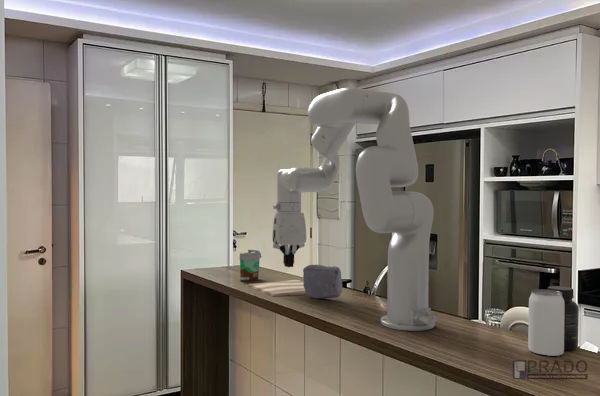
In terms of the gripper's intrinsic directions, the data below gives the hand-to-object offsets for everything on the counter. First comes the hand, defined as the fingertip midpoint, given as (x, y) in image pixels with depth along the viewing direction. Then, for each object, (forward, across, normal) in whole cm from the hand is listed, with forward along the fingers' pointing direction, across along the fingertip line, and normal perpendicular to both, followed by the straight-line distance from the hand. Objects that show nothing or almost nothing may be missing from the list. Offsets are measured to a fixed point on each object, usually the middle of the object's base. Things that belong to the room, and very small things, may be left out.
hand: (288, 266), depth 167 cm
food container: (+8, -2, +24) cm, 25 cm away
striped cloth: (+8, 0, +2) cm, 8 cm away
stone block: (+8, +3, -16) cm, 18 cm away
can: (+8, +17, -79) cm, 81 cm away
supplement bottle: (+8, +24, -77) cm, 81 cm away
